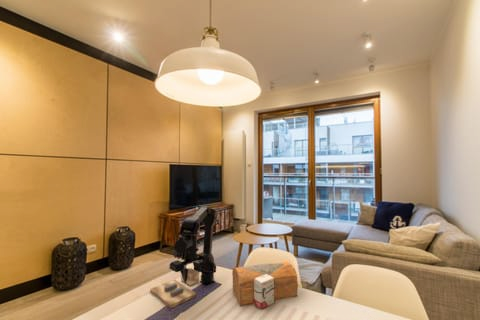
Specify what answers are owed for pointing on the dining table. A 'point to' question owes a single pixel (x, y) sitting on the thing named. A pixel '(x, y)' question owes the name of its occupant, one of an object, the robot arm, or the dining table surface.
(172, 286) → the graphite stick
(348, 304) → the dining table surface
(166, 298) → the oak board
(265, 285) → the ink box
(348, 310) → the dining table surface
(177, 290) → the graphite stick
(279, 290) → the wooden box
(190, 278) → the tan rectangular block
